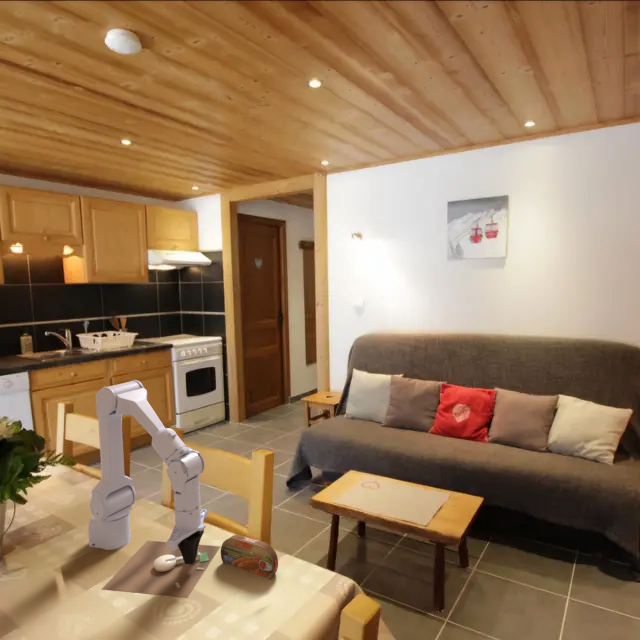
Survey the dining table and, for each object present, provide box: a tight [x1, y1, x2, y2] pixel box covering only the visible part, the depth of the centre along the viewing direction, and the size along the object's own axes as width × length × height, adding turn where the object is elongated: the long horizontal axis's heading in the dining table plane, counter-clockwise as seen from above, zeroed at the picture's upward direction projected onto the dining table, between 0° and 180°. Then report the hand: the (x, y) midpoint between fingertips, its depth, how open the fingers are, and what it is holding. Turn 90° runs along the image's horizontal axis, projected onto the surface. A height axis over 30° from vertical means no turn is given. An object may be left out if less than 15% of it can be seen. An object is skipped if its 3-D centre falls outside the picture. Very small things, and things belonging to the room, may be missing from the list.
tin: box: [220, 534, 279, 581], centre depth 106 cm, size 15×3×8 cm, turn 62°
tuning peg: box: [154, 546, 200, 572], centre depth 108 cm, size 10×5×5 cm, turn 110°
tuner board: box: [101, 540, 222, 599], centre depth 108 cm, size 20×19×2 cm
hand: (189, 562), depth 106 cm, fingers closed
